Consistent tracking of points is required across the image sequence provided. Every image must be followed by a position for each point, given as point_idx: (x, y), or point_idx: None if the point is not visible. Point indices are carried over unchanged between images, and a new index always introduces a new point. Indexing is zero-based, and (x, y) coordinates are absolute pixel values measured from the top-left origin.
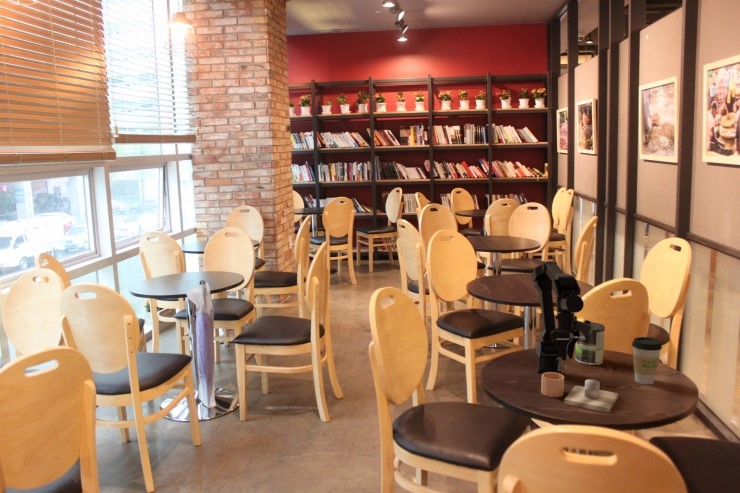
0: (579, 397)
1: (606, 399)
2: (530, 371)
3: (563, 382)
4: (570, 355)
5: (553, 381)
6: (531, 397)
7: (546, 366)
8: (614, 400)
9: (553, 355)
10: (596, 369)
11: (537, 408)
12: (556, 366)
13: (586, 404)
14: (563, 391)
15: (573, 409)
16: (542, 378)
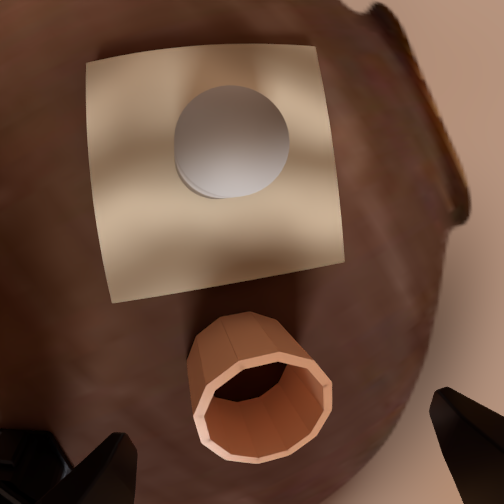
0: (277, 208)
1: (210, 77)
2: None
3: (250, 342)
4: (125, 469)
5: (325, 374)
6: (342, 390)
7: (56, 481)
8: (185, 48)
9: (12, 499)
10: None
11: (419, 316)
12: (21, 452)
13: (331, 148)
14: (228, 321)
15: (364, 197)
16: (304, 434)
